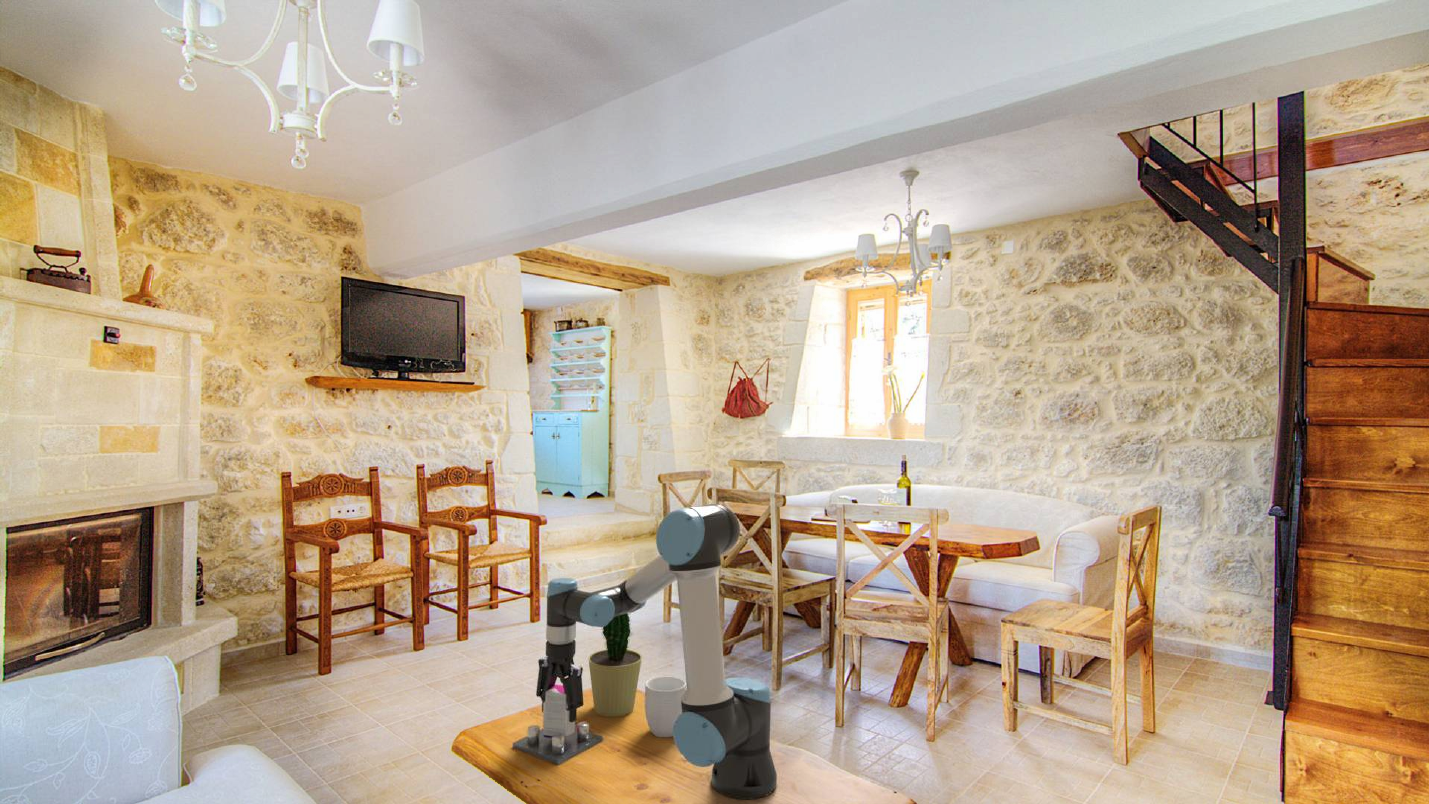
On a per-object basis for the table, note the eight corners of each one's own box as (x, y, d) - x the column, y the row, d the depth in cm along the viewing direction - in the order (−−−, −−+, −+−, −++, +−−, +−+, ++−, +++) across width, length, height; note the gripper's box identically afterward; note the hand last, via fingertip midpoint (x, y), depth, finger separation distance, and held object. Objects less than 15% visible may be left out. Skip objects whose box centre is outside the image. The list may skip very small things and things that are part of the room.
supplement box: (564, 740, 177) (565, 694, 177) (542, 737, 178) (544, 692, 179) (573, 730, 183) (574, 685, 183) (552, 728, 184) (553, 683, 184)
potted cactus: (595, 696, 212) (597, 596, 212) (645, 699, 210) (647, 598, 211) (580, 718, 196) (582, 610, 197) (634, 721, 195) (636, 612, 195)
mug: (695, 721, 196) (696, 674, 196) (703, 738, 185) (704, 688, 185) (641, 725, 192) (642, 677, 193) (646, 743, 182) (647, 692, 182)
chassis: (602, 740, 183) (603, 723, 183) (557, 765, 169) (558, 746, 170) (558, 725, 192) (558, 708, 192) (512, 747, 178) (512, 729, 178)
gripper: (599, 643, 179) (597, 734, 178) (544, 629, 190) (542, 715, 189) (579, 651, 173) (576, 745, 172) (522, 636, 184) (520, 725, 183)
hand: (558, 729), depth 181 cm, fingers closed on supplement box, 7 cm apart
